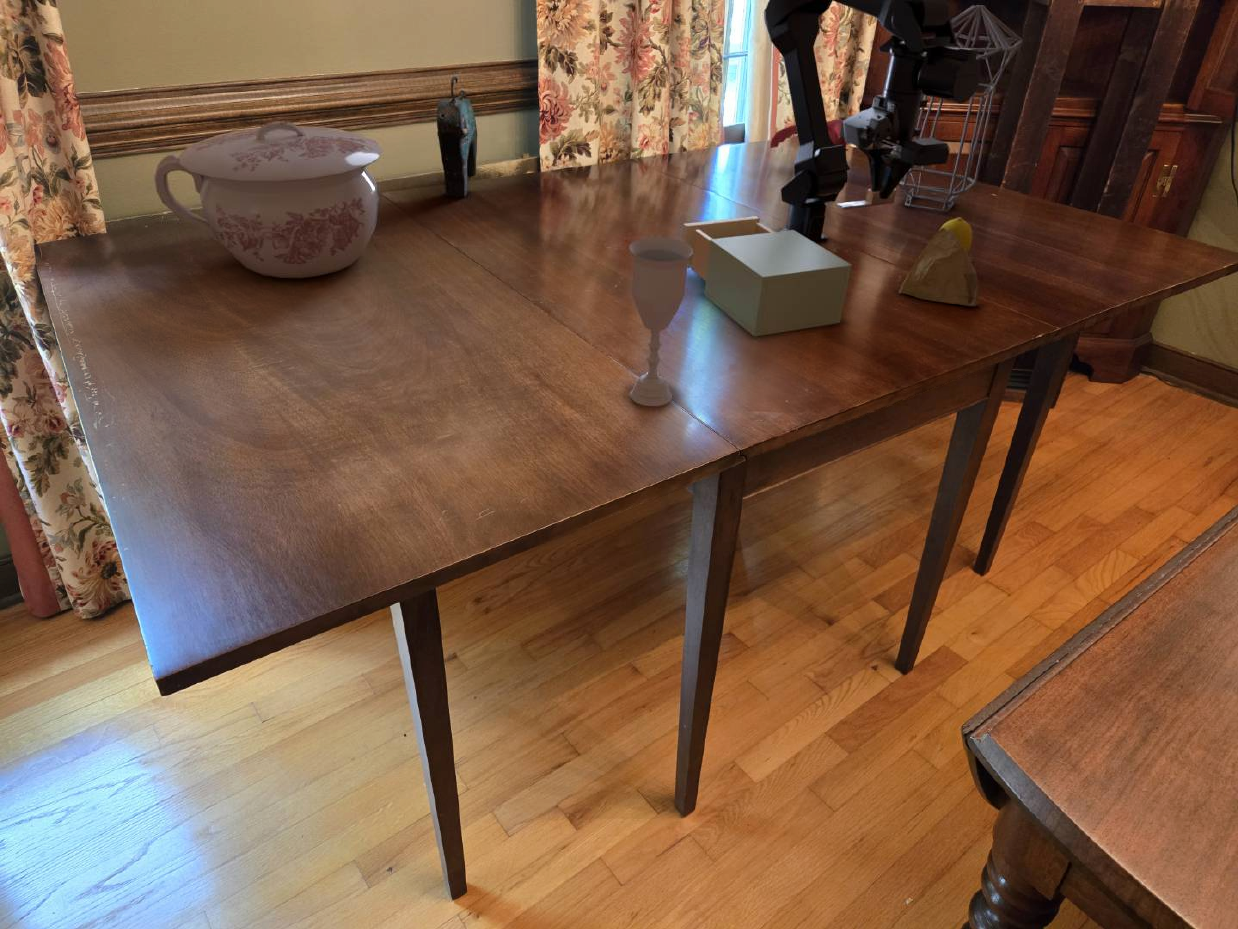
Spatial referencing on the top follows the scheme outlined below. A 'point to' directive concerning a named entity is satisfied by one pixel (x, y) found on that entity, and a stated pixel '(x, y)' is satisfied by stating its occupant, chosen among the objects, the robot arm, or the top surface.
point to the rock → (943, 273)
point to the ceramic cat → (457, 141)
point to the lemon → (960, 231)
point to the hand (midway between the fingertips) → (880, 196)
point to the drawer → (716, 237)
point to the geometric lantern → (990, 22)
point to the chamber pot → (282, 196)
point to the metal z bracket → (870, 200)
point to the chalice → (657, 304)
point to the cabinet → (776, 282)
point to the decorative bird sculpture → (787, 132)
